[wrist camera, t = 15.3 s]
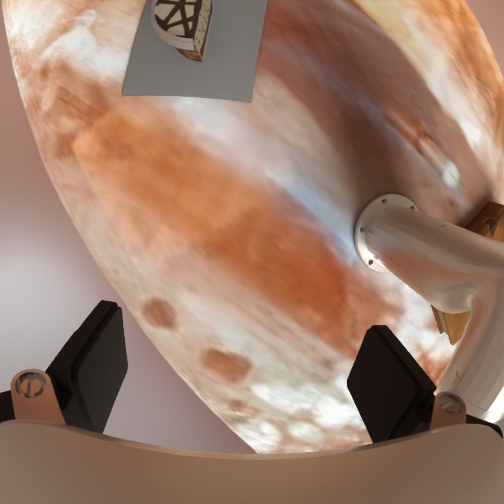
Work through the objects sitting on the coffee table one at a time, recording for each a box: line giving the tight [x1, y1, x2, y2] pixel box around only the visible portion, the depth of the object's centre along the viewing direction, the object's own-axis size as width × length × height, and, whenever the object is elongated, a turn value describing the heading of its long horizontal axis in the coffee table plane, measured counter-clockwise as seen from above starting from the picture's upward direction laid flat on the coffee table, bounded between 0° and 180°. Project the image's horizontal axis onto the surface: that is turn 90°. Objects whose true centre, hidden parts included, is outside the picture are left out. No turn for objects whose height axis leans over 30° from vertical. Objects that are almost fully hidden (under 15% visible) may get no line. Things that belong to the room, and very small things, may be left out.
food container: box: [151, 0, 214, 62], centre depth 25 cm, size 12×6×10 cm, turn 173°
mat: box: [122, 0, 268, 103], centre depth 30 cm, size 18×20×1 cm
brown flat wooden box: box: [431, 202, 504, 345], centre depth 43 cm, size 23×19×6 cm
